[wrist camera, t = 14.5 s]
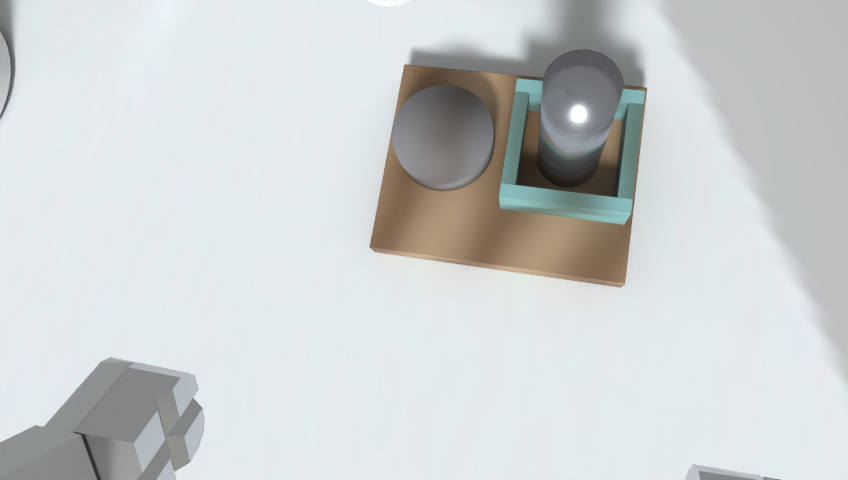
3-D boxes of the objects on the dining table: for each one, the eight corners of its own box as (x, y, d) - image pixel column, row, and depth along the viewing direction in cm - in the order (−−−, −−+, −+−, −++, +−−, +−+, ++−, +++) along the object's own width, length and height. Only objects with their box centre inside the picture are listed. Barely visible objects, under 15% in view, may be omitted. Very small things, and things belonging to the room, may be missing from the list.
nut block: (374, 252, 43) (360, 237, 39) (408, 75, 45) (397, 45, 41) (621, 287, 40) (631, 275, 36) (642, 98, 43) (654, 68, 39)
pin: (533, 184, 41) (537, 118, 31) (541, 127, 42) (547, 46, 32) (595, 191, 40) (618, 126, 31) (601, 133, 41) (627, 53, 31)
